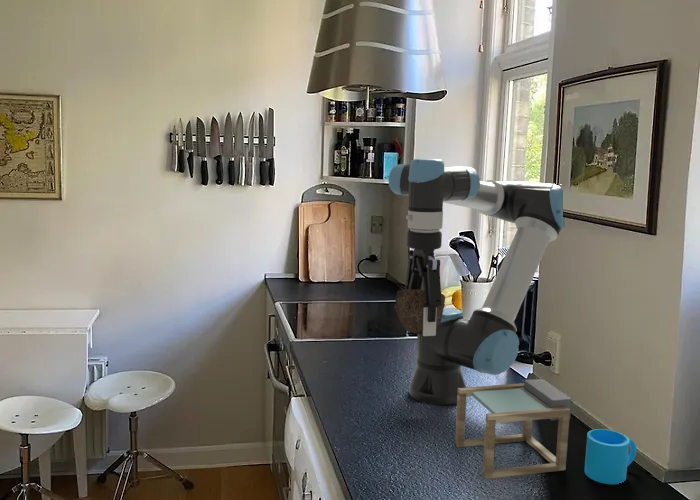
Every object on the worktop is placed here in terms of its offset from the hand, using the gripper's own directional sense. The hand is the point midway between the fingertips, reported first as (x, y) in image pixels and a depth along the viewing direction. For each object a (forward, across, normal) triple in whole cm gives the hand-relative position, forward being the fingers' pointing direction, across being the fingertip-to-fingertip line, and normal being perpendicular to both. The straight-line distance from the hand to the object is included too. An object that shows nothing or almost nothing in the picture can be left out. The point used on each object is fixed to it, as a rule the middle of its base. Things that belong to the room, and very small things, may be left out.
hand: (421, 328), depth 154 cm
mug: (+26, +25, +34) cm, 49 cm away
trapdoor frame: (+25, +14, +16) cm, 33 cm away
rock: (+1, 0, 0) cm, 1 cm away
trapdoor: (+15, +14, +18) cm, 27 cm away
